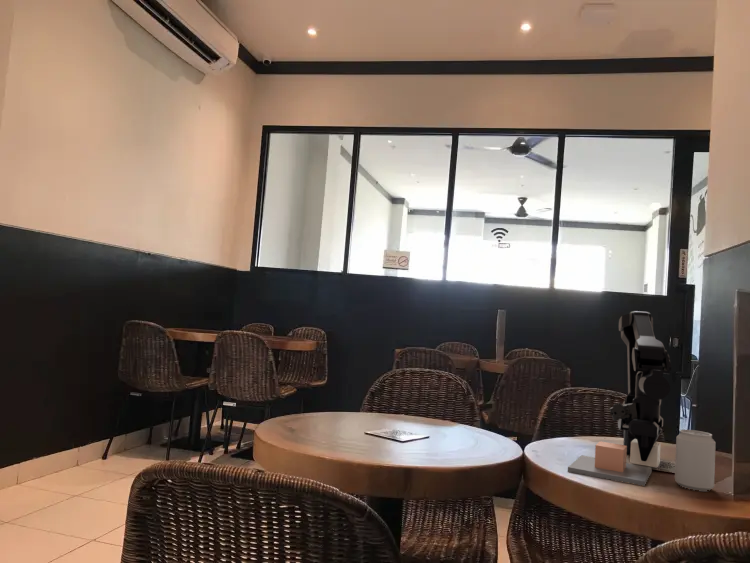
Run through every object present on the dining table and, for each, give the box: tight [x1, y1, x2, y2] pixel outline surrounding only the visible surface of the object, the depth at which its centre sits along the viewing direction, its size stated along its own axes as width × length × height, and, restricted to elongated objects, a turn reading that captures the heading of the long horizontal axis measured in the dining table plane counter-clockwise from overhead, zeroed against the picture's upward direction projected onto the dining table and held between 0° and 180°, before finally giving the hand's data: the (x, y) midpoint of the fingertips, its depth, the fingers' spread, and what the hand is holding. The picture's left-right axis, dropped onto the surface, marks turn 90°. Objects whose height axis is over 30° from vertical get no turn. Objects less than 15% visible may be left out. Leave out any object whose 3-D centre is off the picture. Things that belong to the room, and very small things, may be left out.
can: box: [674, 429, 716, 492], centre depth 126 cm, size 8×8×12 cm
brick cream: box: [629, 439, 662, 469], centre depth 143 cm, size 6×6×5 cm
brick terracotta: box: [594, 440, 628, 472], centre depth 135 cm, size 6×6×5 cm
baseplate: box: [567, 454, 653, 487], centre depth 134 cm, size 16×16×1 cm
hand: (645, 458), depth 143 cm, fingers closed on brick cream, 6 cm apart
